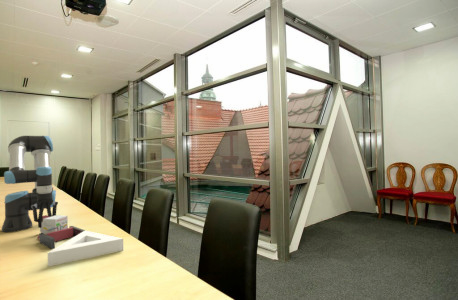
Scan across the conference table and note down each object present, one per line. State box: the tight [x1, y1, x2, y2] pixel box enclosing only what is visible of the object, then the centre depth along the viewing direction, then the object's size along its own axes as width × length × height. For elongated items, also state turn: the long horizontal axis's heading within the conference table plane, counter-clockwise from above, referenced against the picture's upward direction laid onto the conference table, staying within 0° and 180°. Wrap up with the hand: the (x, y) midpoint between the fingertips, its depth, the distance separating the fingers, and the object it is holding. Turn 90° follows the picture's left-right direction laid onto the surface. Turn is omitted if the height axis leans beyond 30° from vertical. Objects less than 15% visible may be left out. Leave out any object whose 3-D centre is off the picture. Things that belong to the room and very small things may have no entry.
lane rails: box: [38, 225, 86, 250], centre depth 139 cm, size 16×16×5 cm
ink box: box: [43, 214, 69, 235], centre depth 144 cm, size 8×8×12 cm
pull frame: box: [37, 214, 73, 242], centre depth 147 cm, size 24×12×10 cm, turn 54°
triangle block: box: [47, 230, 124, 267], centre depth 127 cm, size 30×26×6 cm
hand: (45, 231), depth 152 cm, fingers closed on pull frame, 3 cm apart
